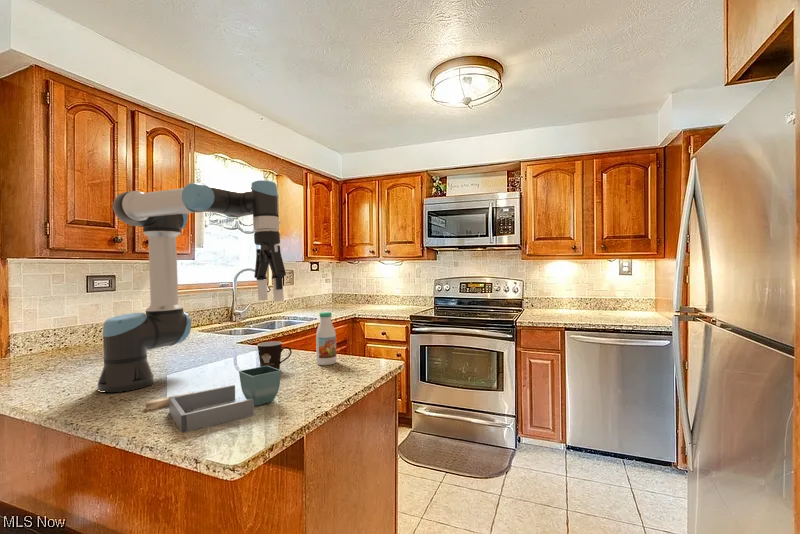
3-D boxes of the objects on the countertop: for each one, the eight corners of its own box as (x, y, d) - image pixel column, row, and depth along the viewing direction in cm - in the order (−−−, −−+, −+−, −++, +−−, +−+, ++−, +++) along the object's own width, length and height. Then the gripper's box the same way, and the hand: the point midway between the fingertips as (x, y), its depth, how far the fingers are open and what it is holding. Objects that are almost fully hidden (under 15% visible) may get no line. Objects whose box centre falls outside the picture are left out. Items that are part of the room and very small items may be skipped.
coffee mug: (252, 372, 143) (252, 345, 143) (270, 366, 151) (270, 340, 151) (276, 376, 138) (275, 347, 138) (293, 370, 145) (293, 343, 145)
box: (234, 398, 115) (233, 384, 115) (253, 414, 101) (253, 399, 101) (169, 412, 104) (169, 397, 104) (181, 432, 91) (181, 415, 91)
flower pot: (268, 394, 117) (267, 364, 117) (282, 401, 111) (282, 370, 111) (238, 402, 111) (238, 370, 111) (252, 410, 105) (251, 376, 105)
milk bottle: (312, 365, 152) (311, 313, 152) (323, 360, 159) (322, 311, 159) (329, 366, 149) (328, 313, 149) (340, 361, 157) (339, 311, 156)
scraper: (148, 414, 104) (147, 406, 104) (144, 406, 111) (144, 399, 111) (209, 400, 114) (209, 393, 114) (202, 394, 120) (202, 387, 120)
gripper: (294, 226, 114) (298, 300, 113) (265, 236, 133) (268, 298, 133) (269, 226, 109) (273, 302, 109) (242, 235, 129) (245, 300, 128)
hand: (270, 300), depth 121 cm, fingers open, 13 cm apart
